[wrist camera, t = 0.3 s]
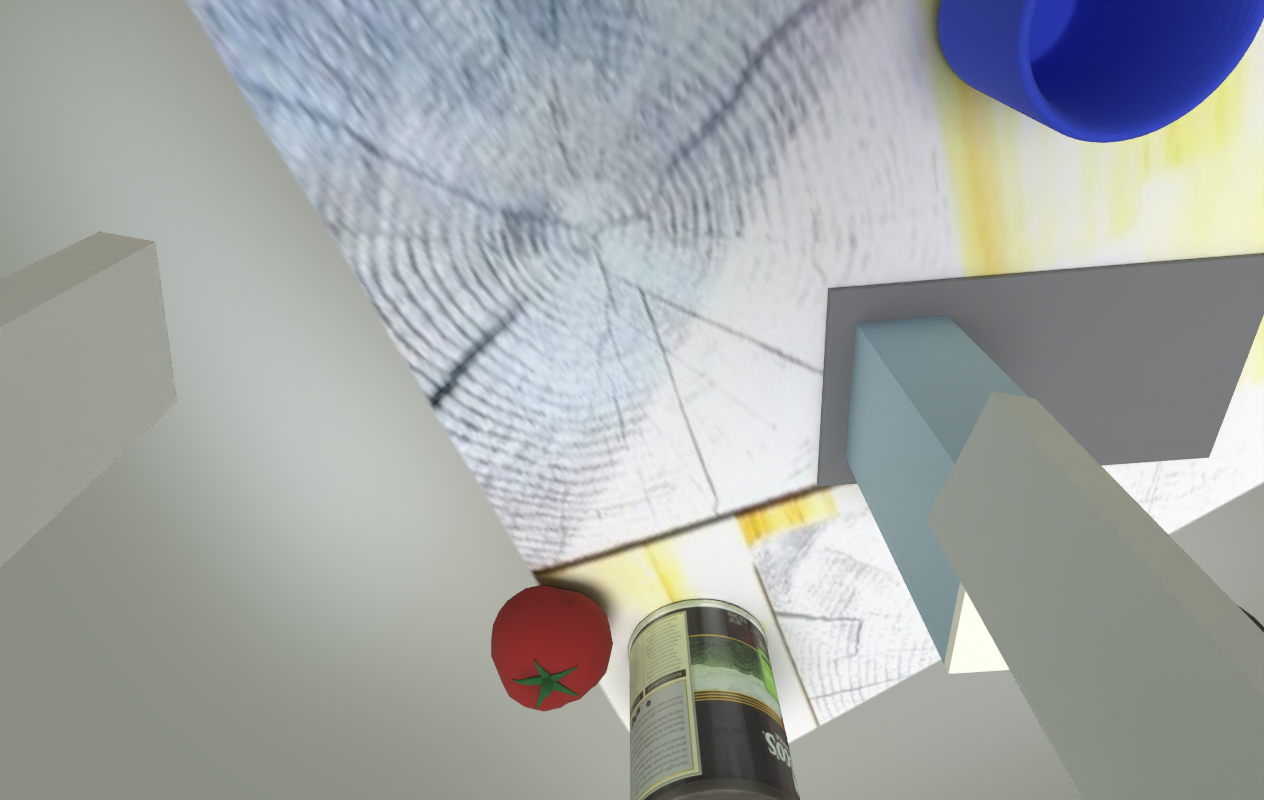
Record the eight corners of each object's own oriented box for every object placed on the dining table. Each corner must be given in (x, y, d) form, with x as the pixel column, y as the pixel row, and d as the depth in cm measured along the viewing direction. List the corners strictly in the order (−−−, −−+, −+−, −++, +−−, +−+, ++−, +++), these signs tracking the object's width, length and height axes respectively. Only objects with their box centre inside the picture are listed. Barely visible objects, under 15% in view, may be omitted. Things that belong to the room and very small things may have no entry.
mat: (817, 482, 46) (818, 486, 45) (828, 288, 39) (830, 291, 39) (1204, 453, 45) (1208, 457, 45) (1280, 251, 38) (1286, 254, 38)
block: (845, 457, 44) (948, 673, 30) (856, 323, 40) (982, 503, 26) (927, 451, 44) (1069, 665, 30) (947, 315, 40) (1124, 493, 26)
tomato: (494, 567, 49) (476, 653, 43) (613, 567, 49) (611, 652, 43) (504, 650, 53) (488, 739, 47) (613, 649, 53) (612, 738, 47)
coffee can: (756, 585, 50) (800, 780, 38) (774, 682, 55) (819, 882, 43) (611, 611, 51) (609, 808, 39) (642, 704, 56) (649, 905, 44)
